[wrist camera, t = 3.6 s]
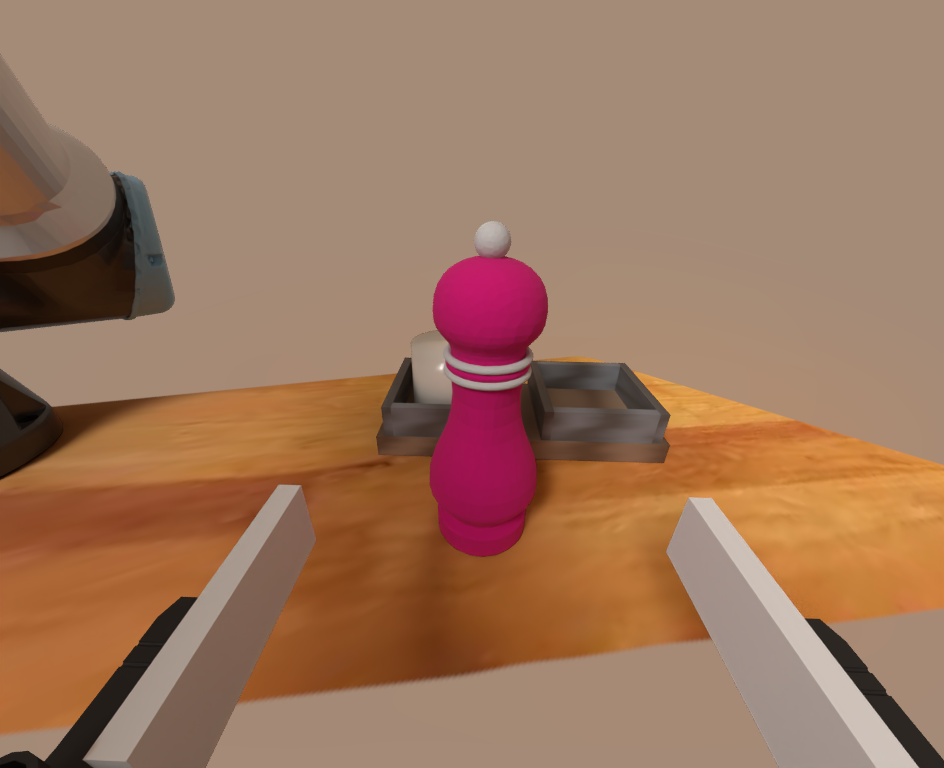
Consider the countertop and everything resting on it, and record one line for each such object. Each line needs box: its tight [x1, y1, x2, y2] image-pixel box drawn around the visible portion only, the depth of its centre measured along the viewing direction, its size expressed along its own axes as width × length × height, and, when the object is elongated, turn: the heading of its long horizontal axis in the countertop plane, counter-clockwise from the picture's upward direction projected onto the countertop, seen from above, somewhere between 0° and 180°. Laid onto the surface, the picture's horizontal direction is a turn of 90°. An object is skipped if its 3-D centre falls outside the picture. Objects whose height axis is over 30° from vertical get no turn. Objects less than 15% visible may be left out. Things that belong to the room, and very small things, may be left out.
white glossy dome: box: [411, 330, 452, 404], centre depth 34 cm, size 7×7×7 cm
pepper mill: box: [430, 221, 548, 556], centre depth 21 cm, size 7×7×20 cm
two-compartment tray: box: [376, 358, 670, 463], centre depth 36 cm, size 26×11×5 cm, turn 89°
